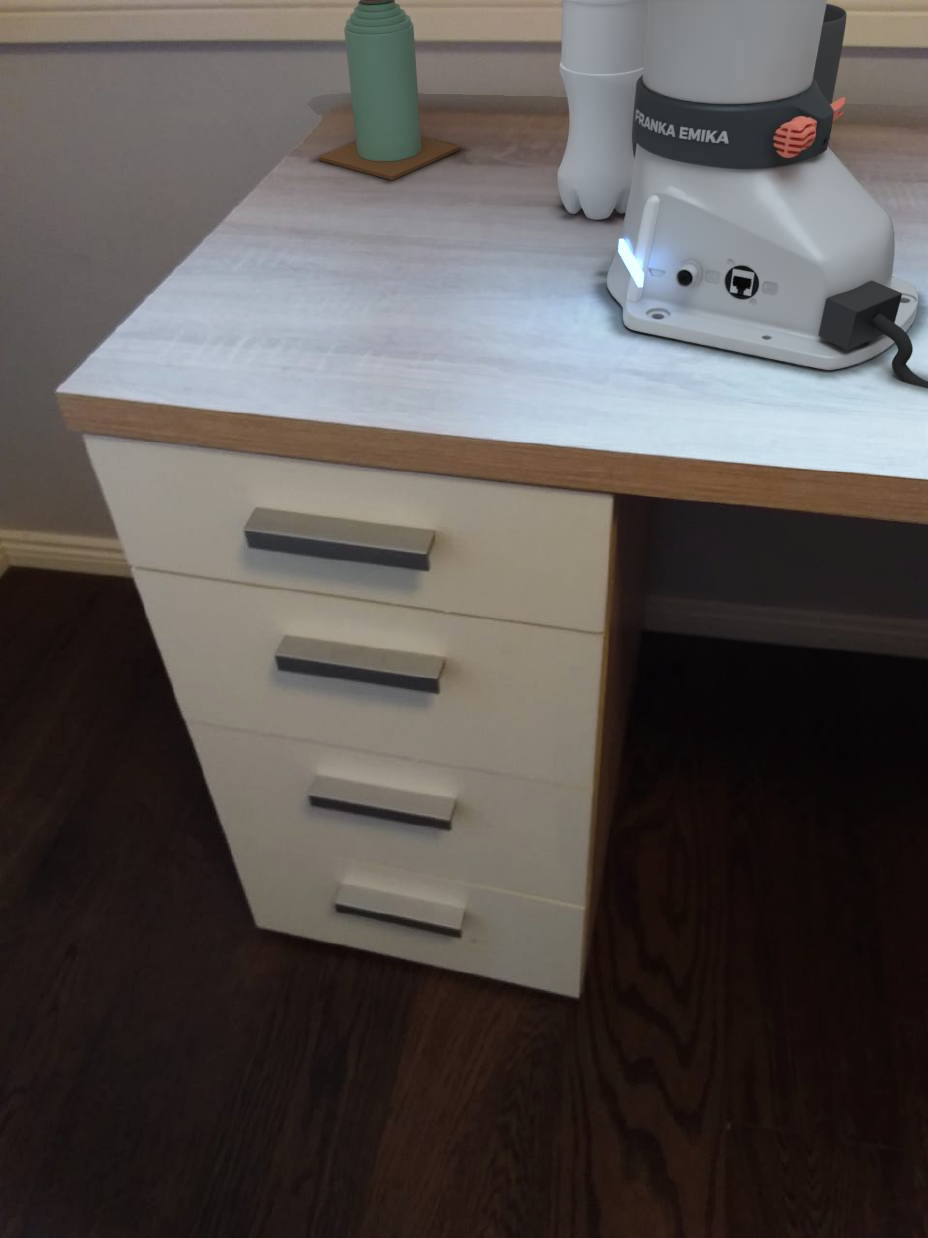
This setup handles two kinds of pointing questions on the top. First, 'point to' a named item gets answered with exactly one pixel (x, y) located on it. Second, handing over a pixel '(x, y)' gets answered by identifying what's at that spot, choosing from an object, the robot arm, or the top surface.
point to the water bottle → (600, 101)
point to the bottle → (383, 81)
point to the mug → (830, 50)
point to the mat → (390, 169)
